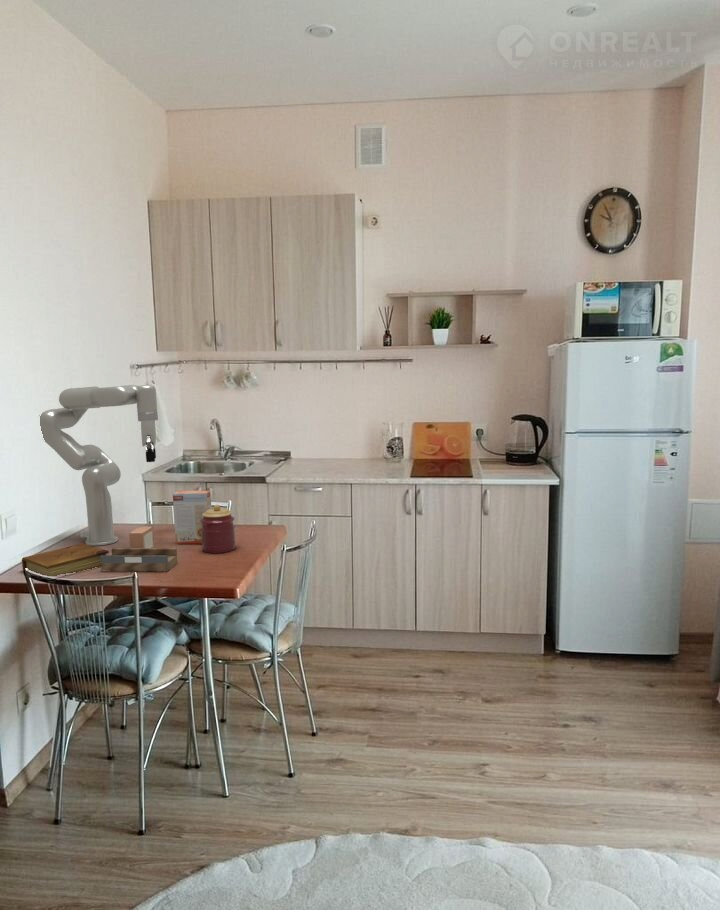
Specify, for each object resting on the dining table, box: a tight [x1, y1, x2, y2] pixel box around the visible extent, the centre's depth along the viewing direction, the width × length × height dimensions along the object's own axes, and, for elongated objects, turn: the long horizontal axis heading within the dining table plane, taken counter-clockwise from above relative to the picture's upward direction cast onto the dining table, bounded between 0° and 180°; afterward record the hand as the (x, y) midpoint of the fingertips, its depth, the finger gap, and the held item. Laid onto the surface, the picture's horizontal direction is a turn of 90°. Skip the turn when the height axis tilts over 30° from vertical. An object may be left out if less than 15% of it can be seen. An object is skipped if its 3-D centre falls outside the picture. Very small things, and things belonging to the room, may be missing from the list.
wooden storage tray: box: [100, 547, 178, 573], centre depth 258 cm, size 24×11×6 cm, turn 85°
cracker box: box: [172, 490, 212, 545], centre depth 290 cm, size 14×6×21 cm, turn 84°
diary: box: [21, 543, 110, 576], centre depth 260 cm, size 23×19×6 cm
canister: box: [200, 504, 237, 554], centre depth 279 cm, size 13×13×18 cm
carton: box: [129, 526, 155, 548], centre depth 273 cm, size 5×10×10 cm, turn 175°
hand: (151, 460), depth 284 cm, fingers open, 9 cm apart
